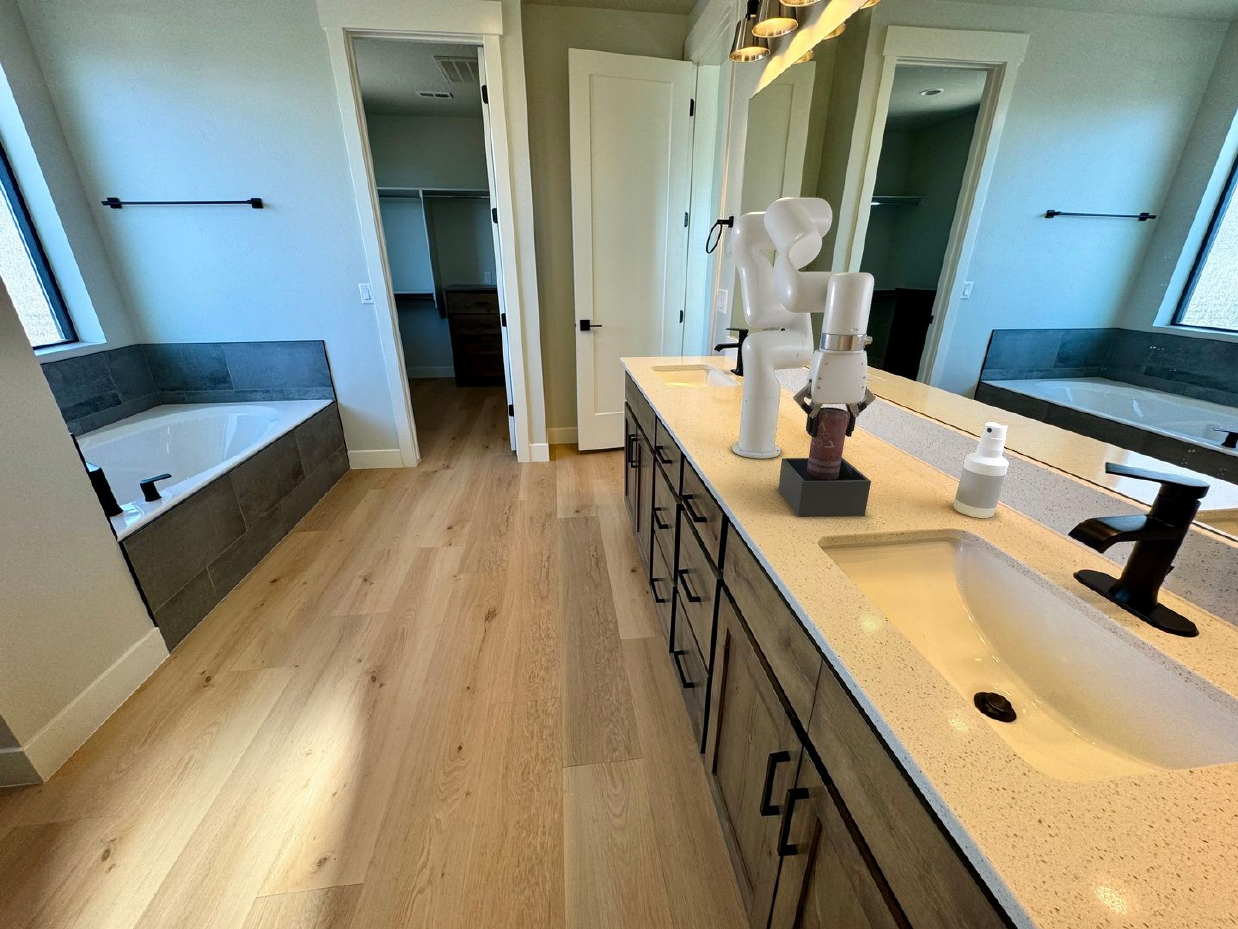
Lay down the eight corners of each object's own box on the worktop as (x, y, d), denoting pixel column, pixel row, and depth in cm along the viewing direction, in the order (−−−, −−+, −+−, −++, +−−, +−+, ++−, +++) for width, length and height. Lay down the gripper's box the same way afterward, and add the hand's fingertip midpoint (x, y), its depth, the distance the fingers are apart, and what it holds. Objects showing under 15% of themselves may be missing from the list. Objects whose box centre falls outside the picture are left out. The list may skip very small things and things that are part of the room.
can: (842, 482, 98) (854, 414, 93) (808, 480, 99) (818, 413, 94) (836, 471, 103) (846, 407, 98) (804, 469, 105) (813, 405, 100)
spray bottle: (945, 506, 100) (966, 422, 94) (968, 501, 103) (990, 418, 96) (978, 521, 94) (1003, 431, 88) (1002, 515, 97) (1028, 427, 90)
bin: (778, 489, 110) (781, 458, 107) (837, 488, 110) (842, 457, 107) (798, 516, 97) (802, 481, 95) (864, 515, 97) (871, 481, 95)
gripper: (878, 340, 95) (863, 429, 102) (789, 341, 95) (779, 430, 102) (899, 345, 88) (881, 440, 95) (802, 346, 88) (791, 441, 95)
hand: (828, 434), depth 98 cm, fingers closed on can, 6 cm apart
